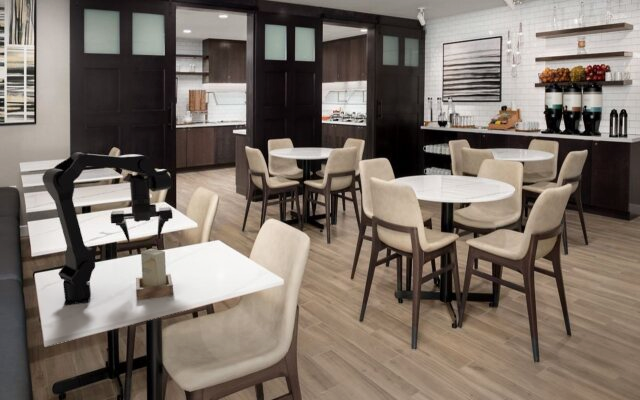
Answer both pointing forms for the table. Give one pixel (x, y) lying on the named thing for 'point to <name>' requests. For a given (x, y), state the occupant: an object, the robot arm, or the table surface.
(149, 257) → the skincare box
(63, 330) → the table surface
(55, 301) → the table surface
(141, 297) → the box
